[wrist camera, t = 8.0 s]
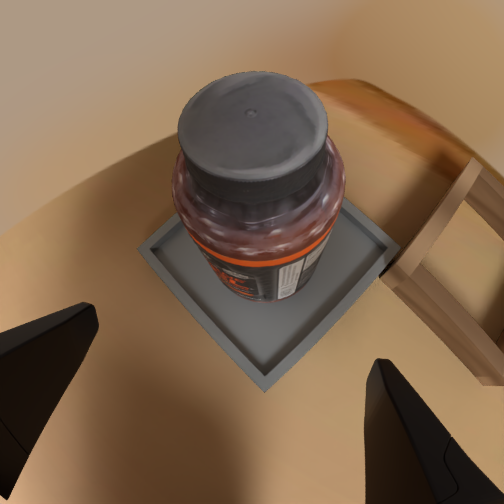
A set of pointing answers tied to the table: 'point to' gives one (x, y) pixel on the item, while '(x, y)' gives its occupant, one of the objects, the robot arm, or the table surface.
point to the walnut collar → (434, 294)
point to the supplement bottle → (258, 182)
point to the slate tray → (276, 313)
